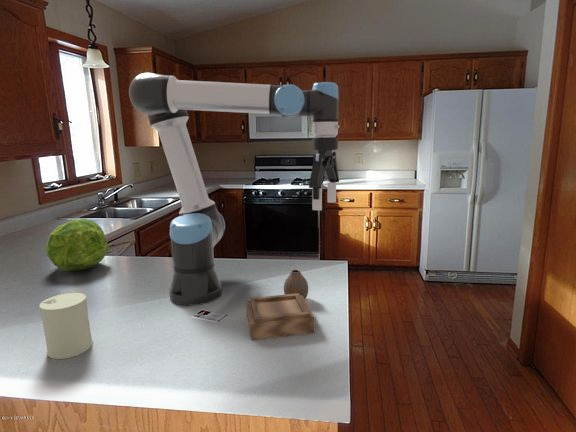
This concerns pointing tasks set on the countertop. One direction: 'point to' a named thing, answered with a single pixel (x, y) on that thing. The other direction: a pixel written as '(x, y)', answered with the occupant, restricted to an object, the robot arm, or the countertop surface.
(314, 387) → the countertop surface
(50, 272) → the countertop surface
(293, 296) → the brown wooden flat box
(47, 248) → the lettuce
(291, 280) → the vase
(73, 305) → the can
